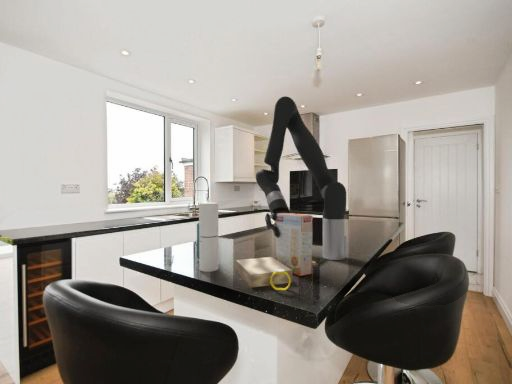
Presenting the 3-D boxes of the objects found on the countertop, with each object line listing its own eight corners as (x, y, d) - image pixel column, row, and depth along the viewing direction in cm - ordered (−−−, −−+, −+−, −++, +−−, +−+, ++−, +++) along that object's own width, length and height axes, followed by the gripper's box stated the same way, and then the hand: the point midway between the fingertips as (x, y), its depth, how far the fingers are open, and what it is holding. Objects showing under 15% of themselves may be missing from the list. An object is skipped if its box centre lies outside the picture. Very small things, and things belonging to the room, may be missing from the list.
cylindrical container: (209, 272, 97) (209, 203, 97) (195, 269, 101) (195, 203, 101) (222, 267, 103) (222, 202, 103) (208, 265, 107) (208, 202, 107)
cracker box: (312, 274, 95) (313, 215, 95) (300, 277, 92) (300, 215, 92) (287, 265, 107) (288, 212, 107) (275, 267, 103) (275, 212, 103)
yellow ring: (270, 291, 80) (269, 271, 80) (271, 288, 83) (270, 269, 83) (290, 291, 79) (289, 271, 79) (291, 288, 82) (289, 268, 82)
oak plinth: (271, 267, 104) (271, 256, 104) (292, 282, 87) (292, 270, 87) (236, 270, 99) (236, 260, 99) (251, 287, 82) (250, 274, 82)
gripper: (263, 198, 108) (274, 230, 97) (295, 197, 113) (309, 229, 102) (259, 210, 113) (268, 242, 102) (289, 209, 118) (302, 240, 107)
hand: (288, 235), depth 102 cm, fingers open, 8 cm apart
